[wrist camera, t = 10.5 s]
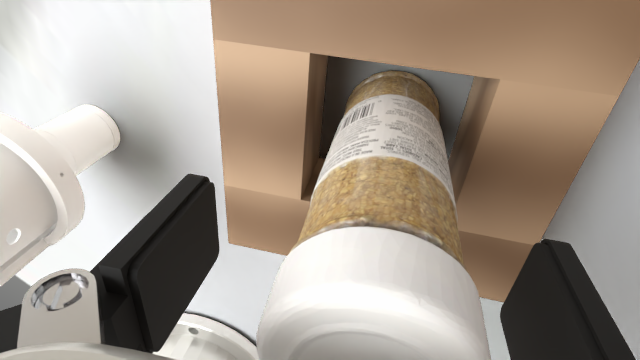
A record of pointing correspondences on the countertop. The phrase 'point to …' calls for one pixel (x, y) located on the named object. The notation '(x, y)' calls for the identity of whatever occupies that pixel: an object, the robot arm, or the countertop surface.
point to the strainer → (46, 180)
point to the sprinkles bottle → (378, 243)
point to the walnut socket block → (433, 54)
